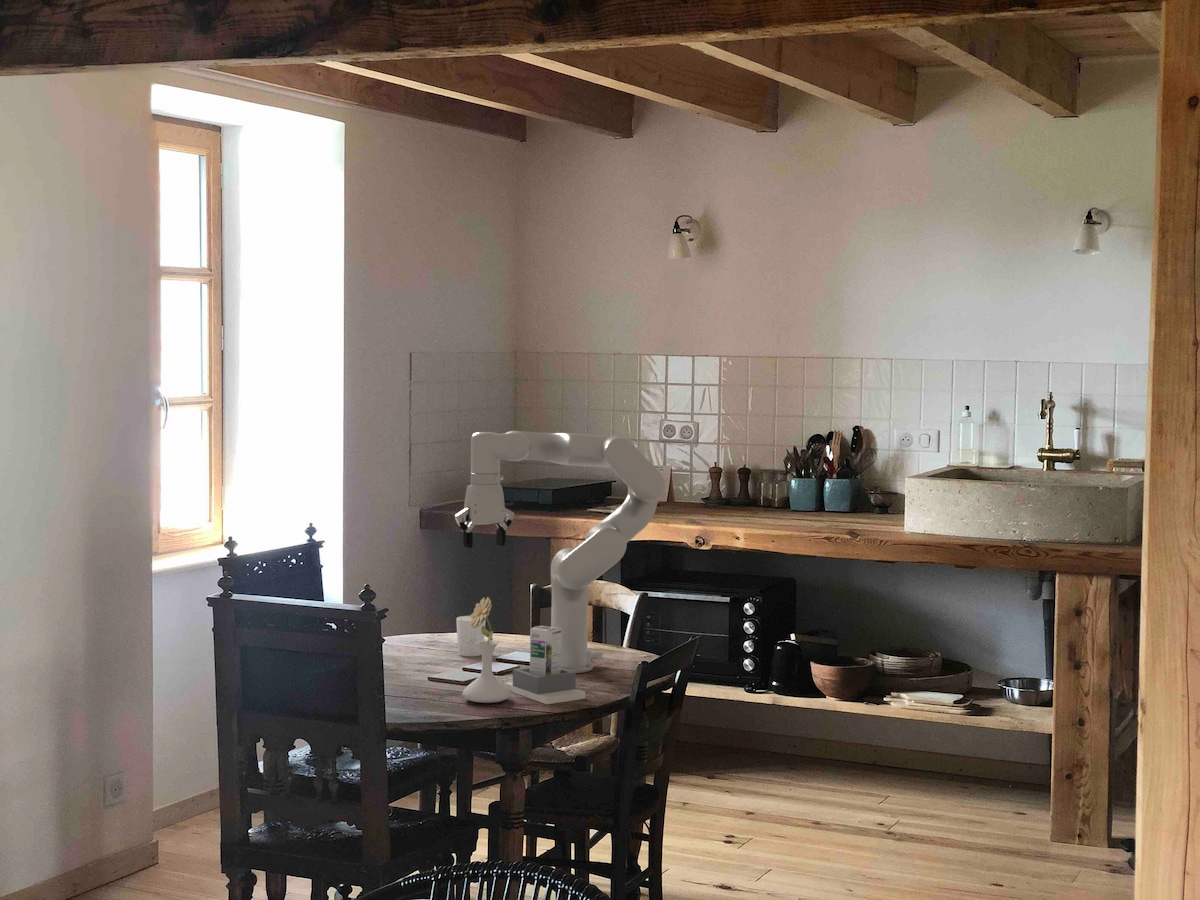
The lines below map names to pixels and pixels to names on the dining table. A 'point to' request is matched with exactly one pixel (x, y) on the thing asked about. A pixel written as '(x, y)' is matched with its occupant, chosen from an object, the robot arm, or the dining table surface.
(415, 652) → the dining table surface
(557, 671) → the syrup box
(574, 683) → the socket caddy
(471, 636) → the white cup
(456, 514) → the robot arm
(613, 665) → the dining table surface
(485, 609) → the flower in vase
